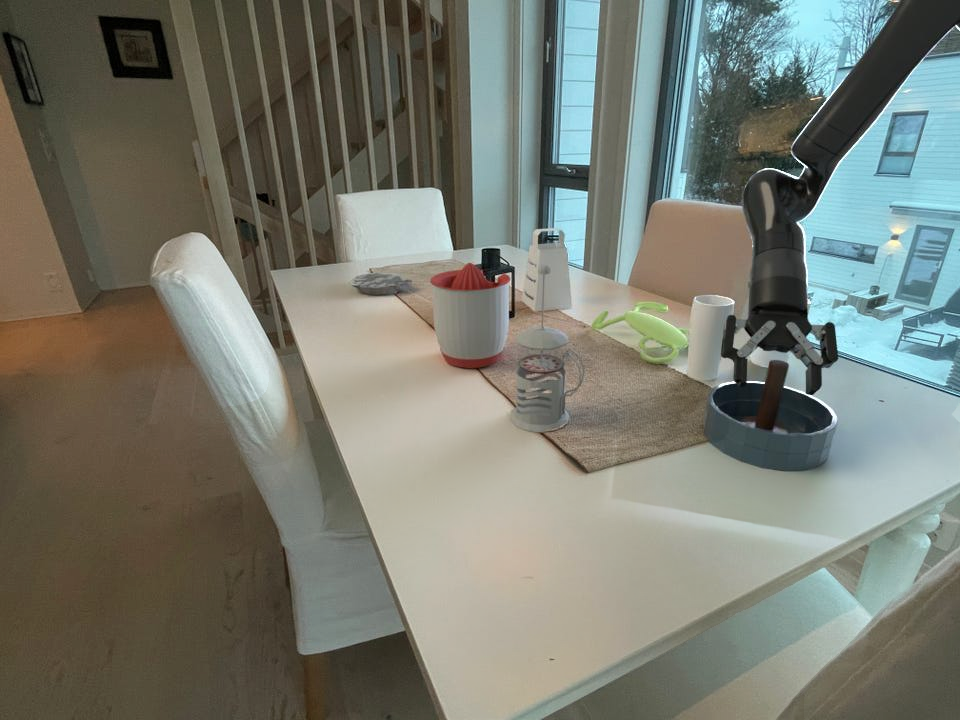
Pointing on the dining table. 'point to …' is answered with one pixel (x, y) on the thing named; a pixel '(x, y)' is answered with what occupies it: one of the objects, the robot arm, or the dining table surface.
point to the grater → (547, 275)
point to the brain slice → (380, 283)
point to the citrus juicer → (470, 316)
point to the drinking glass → (707, 335)
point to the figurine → (650, 330)
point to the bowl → (764, 448)
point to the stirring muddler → (771, 399)
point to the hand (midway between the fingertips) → (776, 389)
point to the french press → (547, 406)
